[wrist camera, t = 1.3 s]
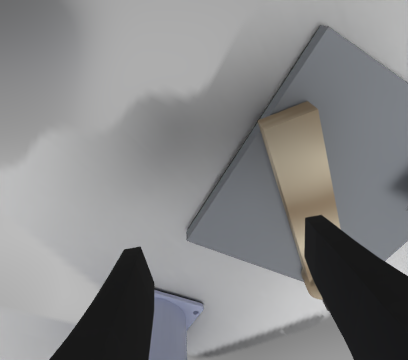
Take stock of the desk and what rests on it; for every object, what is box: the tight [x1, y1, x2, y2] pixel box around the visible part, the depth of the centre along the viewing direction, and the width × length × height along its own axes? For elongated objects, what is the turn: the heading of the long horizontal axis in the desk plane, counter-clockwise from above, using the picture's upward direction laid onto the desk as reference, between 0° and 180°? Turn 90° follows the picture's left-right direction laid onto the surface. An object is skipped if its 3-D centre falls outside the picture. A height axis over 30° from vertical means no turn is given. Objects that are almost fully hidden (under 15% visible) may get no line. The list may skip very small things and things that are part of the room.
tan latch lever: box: [258, 101, 341, 312], centre depth 20 cm, size 16×4×3 cm, turn 21°
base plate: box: [186, 25, 408, 282], centre depth 21 cm, size 16×16×1 cm
